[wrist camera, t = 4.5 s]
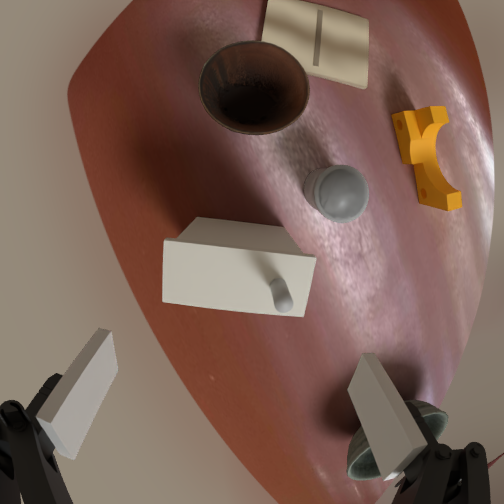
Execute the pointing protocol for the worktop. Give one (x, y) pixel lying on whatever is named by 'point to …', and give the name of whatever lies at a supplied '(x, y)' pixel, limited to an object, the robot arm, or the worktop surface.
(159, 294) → the worktop surface
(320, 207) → the grey knob
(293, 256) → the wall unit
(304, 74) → the cup
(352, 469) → the bowl
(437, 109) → the yellow shaft support bracket
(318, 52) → the board
